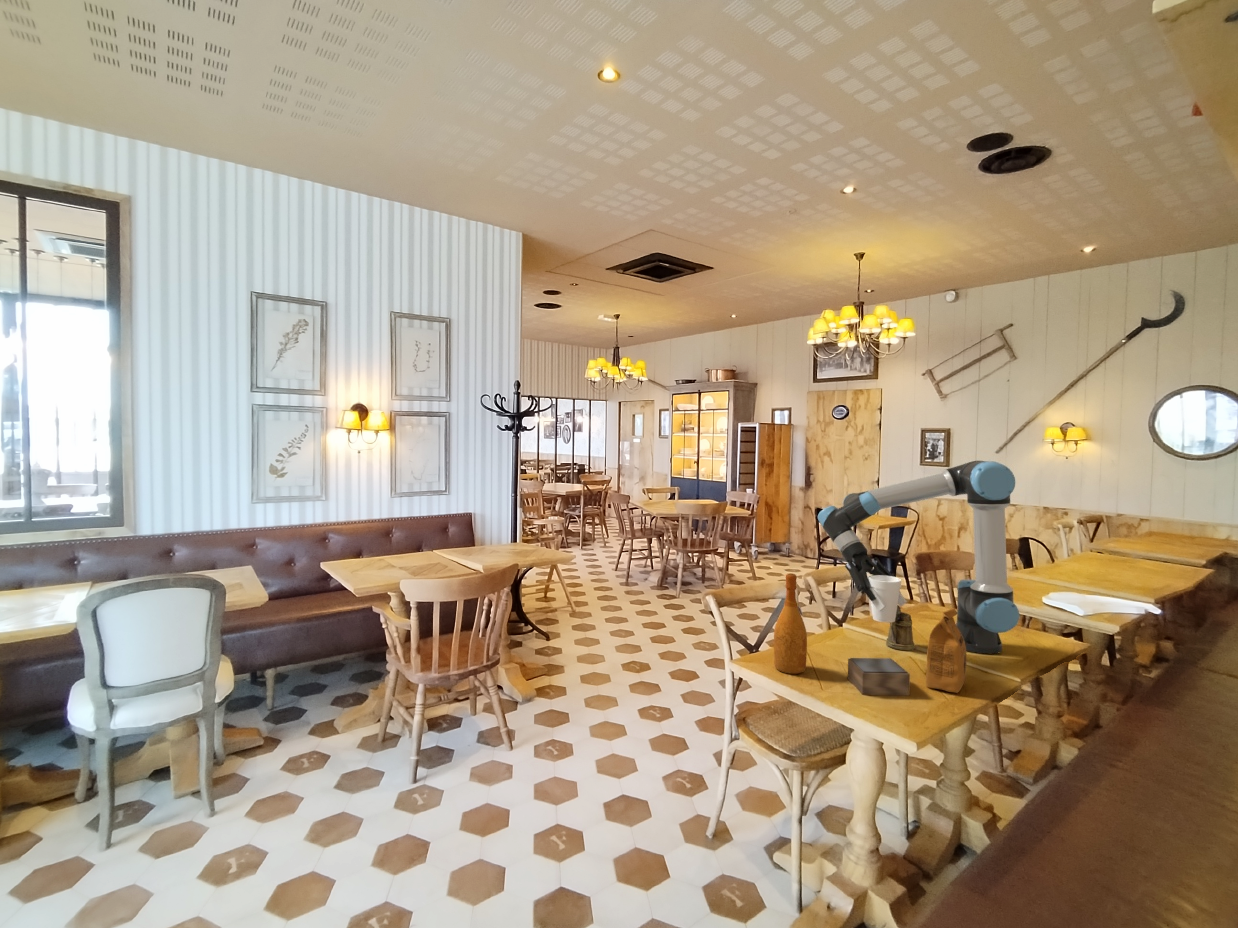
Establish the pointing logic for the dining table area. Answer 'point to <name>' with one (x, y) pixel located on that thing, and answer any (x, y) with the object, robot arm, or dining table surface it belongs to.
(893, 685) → the walnut stand
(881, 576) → the foam cup
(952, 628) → the coffee package
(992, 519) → the robot arm
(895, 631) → the wooden mug
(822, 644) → the dining table surface
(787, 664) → the wine bottle
